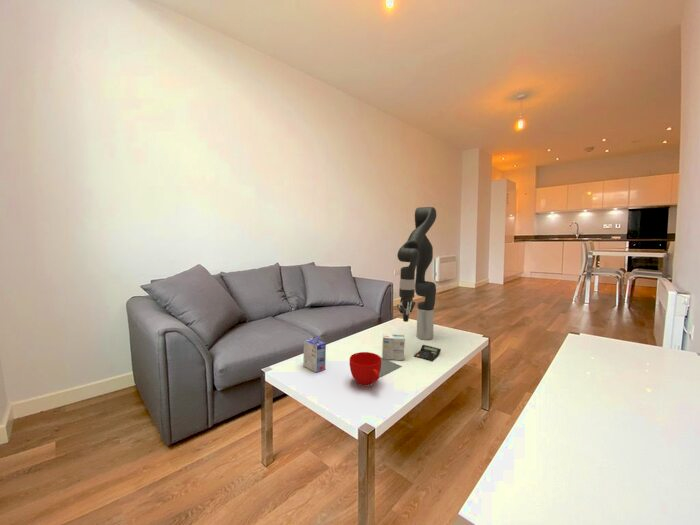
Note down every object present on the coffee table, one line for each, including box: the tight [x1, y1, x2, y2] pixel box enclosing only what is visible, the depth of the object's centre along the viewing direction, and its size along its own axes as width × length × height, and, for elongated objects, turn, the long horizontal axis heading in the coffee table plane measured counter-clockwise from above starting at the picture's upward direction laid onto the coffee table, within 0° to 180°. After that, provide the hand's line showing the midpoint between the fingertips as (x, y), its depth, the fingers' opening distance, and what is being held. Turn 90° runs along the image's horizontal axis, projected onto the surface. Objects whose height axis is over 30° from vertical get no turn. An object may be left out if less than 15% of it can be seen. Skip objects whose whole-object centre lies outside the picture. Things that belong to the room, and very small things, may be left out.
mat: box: [349, 357, 403, 379], centre depth 136 cm, size 16×18×1 cm
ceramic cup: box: [349, 351, 382, 387], centre depth 119 cm, size 13×17×10 cm
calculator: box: [413, 344, 442, 362], centre depth 148 cm, size 9×12×3 cm
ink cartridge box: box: [303, 334, 327, 373], centre depth 132 cm, size 10×6×14 cm, turn 46°
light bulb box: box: [381, 333, 406, 361], centre depth 144 cm, size 11×7×11 cm, turn 84°
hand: (405, 321), depth 150 cm, fingers closed
